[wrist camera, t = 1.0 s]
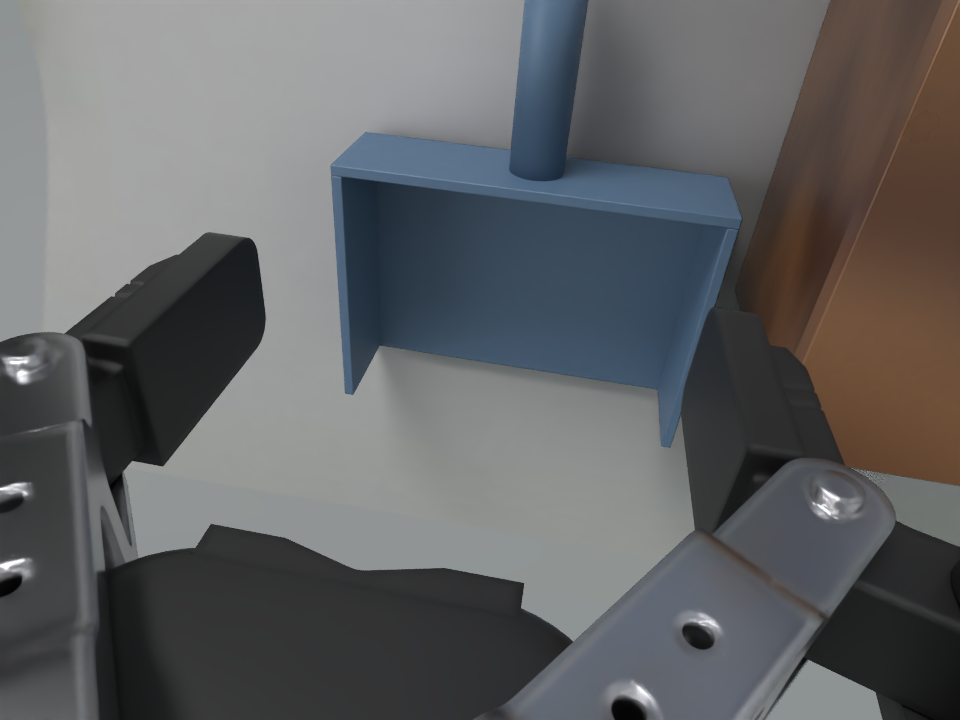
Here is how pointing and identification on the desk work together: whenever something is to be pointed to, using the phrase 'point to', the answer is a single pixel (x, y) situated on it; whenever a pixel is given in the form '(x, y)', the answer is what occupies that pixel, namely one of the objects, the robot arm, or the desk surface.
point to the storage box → (872, 236)
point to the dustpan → (530, 243)
